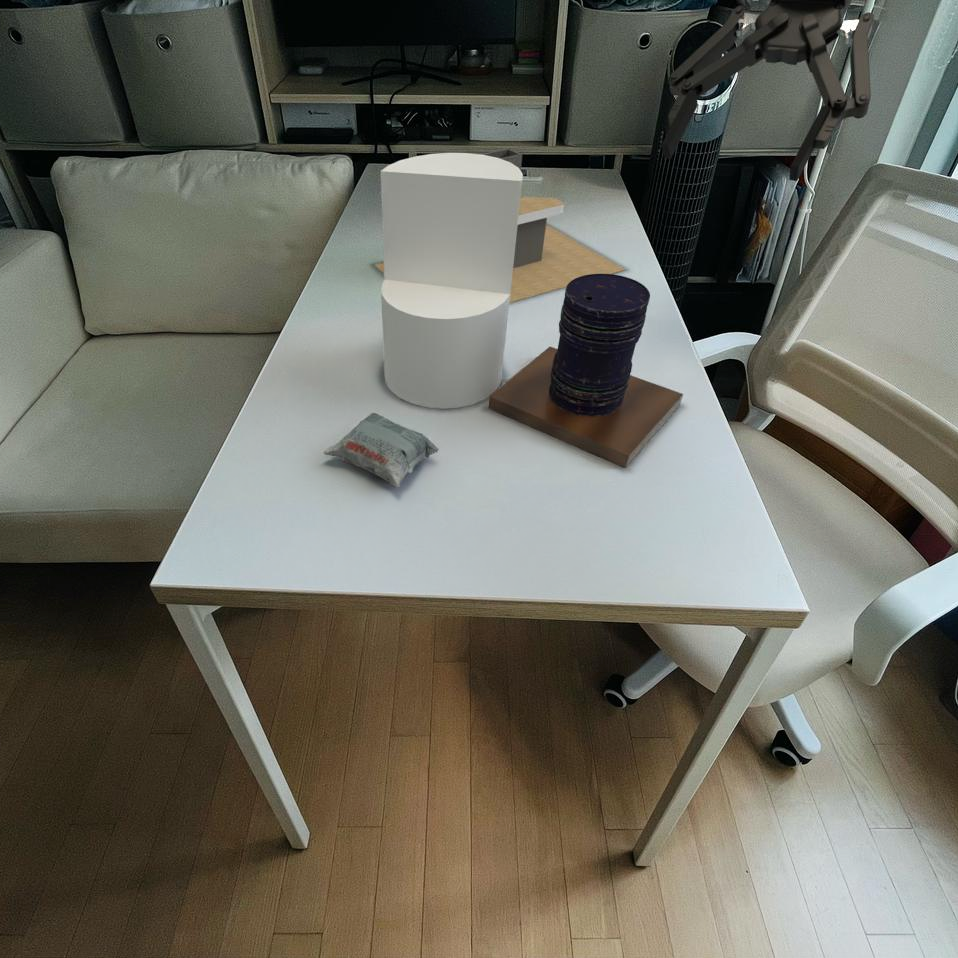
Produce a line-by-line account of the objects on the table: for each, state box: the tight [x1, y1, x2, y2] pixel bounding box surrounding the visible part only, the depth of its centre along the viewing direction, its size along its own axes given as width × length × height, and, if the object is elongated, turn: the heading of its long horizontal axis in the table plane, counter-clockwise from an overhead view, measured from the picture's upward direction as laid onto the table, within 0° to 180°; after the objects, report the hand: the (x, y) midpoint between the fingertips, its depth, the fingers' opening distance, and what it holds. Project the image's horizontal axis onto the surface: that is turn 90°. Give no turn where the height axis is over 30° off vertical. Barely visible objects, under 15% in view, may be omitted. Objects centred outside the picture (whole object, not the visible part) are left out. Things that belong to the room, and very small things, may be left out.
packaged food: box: [323, 412, 440, 488], centre depth 82 cm, size 9×12×5 cm
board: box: [487, 346, 684, 469], centre depth 89 cm, size 20×16×2 cm
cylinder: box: [380, 152, 524, 410], centre depth 88 cm, size 17×17×28 cm
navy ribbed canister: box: [549, 273, 651, 417], centre depth 83 cm, size 10×10×15 cm
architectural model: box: [374, 148, 626, 304], centre depth 115 cm, size 38×25×20 cm, turn 114°
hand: (726, 162), depth 72 cm, fingers open, 13 cm apart
